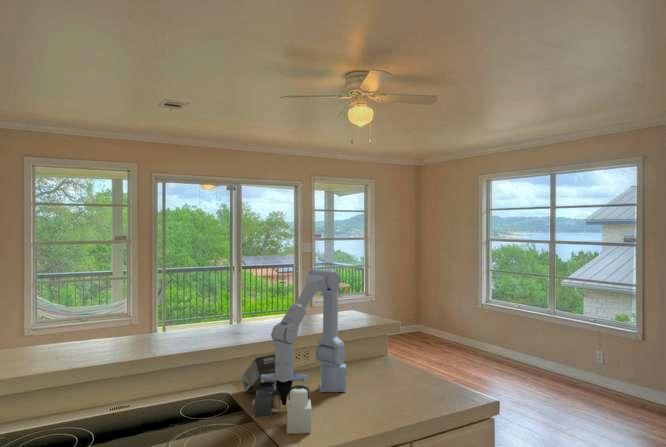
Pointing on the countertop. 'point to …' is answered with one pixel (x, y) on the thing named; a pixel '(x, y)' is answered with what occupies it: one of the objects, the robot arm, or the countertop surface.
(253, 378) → the coffee box
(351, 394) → the countertop surface
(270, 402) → the mount
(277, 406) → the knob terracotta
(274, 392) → the knob dark gray
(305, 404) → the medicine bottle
